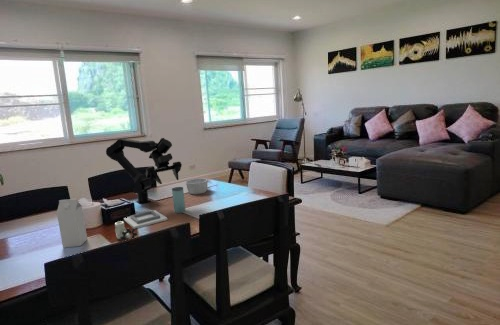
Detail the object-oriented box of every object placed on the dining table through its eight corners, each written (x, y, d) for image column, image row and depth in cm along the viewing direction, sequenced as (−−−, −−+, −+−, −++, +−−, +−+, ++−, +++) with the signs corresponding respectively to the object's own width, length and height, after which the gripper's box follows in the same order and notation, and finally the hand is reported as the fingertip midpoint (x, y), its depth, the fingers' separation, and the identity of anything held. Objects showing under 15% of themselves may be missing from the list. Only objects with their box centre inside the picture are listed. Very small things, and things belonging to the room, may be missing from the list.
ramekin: (182, 194, 210) (181, 183, 209) (193, 188, 222) (192, 178, 221) (201, 195, 205) (200, 184, 204) (212, 189, 217) (211, 178, 216)
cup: (172, 211, 179) (170, 188, 177) (182, 208, 182) (180, 186, 180) (177, 213, 175) (174, 190, 173) (187, 211, 178) (185, 188, 176)
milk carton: (70, 241, 148) (62, 197, 145) (87, 239, 149) (80, 196, 145) (62, 248, 141) (54, 202, 138) (80, 246, 142) (73, 201, 138)
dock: (123, 220, 170) (123, 215, 170) (155, 212, 179) (154, 208, 179) (134, 228, 158) (133, 224, 157) (167, 219, 167) (167, 215, 166)
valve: (111, 238, 148) (122, 246, 139) (109, 223, 147) (119, 230, 138) (127, 233, 152) (138, 241, 143) (125, 219, 151) (136, 226, 142)
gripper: (143, 152, 178) (154, 176, 171) (177, 146, 188) (189, 168, 181) (141, 166, 186) (151, 189, 179) (174, 159, 196) (185, 181, 189)
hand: (169, 181), depth 181 cm, fingers open, 9 cm apart
